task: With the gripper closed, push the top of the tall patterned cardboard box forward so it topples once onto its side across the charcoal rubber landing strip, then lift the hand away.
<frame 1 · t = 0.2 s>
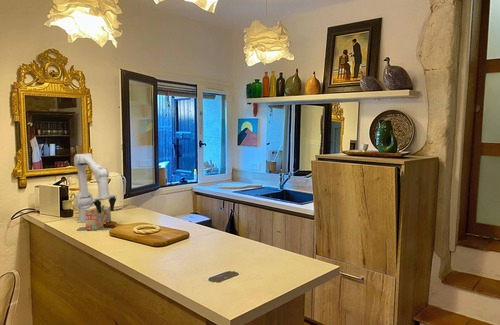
hand: (106, 211, 217), 11 cm above the counter, tool pointing down, fingers open, 7 cm apart
patterned cardboard box: (99, 225, 226), on the counter, touching landing strip
landing strip: (95, 228, 220), on the counter
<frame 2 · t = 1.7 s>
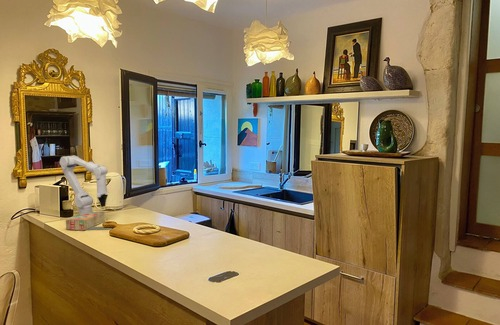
hand: (103, 206, 233), 10 cm above the counter, tool pointing down, fingers closed
patterned cardboard box: (95, 220, 225), point 3 cm above the counter, touching landing strip
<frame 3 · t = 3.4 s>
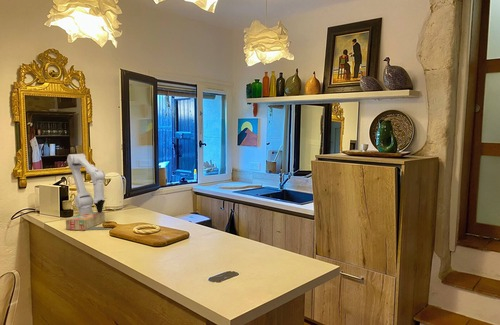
hand: (99, 212, 228), 8 cm above the counter, tool pointing down, fingers closed
nothing on the counter moved.
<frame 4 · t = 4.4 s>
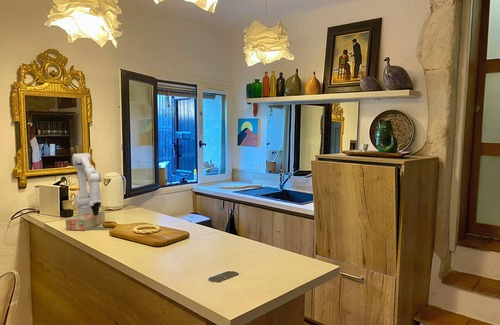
hand: (96, 215, 221), 8 cm above the counter, tool pointing down, fingers closed
nothing on the counter moved.
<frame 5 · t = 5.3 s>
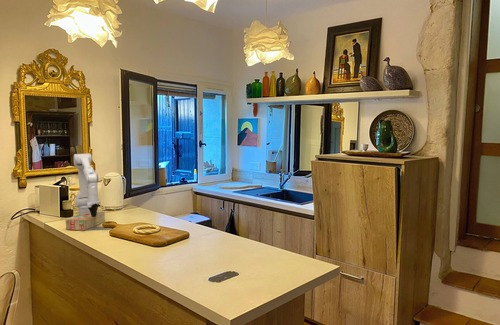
hand: (93, 216, 217), 8 cm above the counter, tool pointing down, fingers closed
nothing on the counter moved.
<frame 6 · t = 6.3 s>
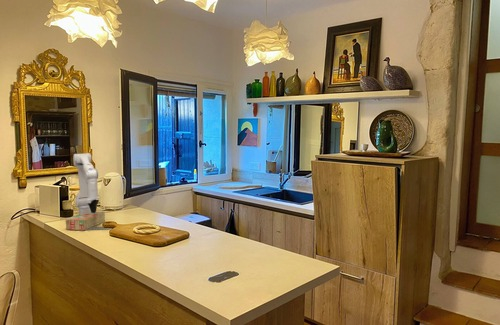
hand: (93, 212, 217), 10 cm above the counter, tool pointing down, fingers closed
nothing on the counter moved.
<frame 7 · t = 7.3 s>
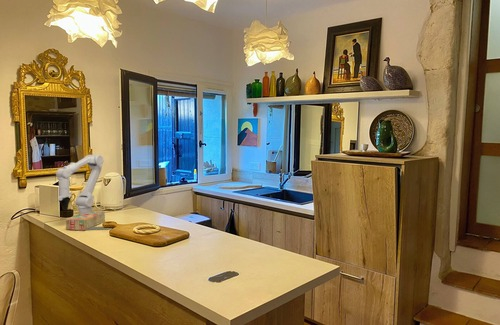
hand: (65, 210, 224), 10 cm above the counter, tool pointing down, fingers closed
nothing on the counter moved.
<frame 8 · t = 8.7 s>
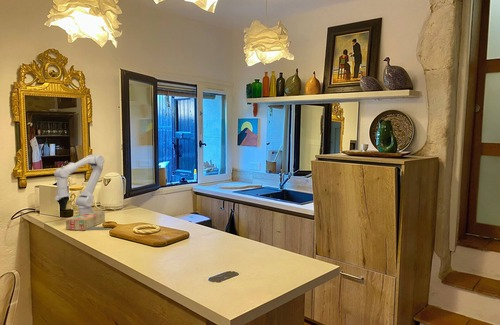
hand: (63, 209, 224), 10 cm above the counter, tool pointing down, fingers closed
nothing on the counter moved.
at the end: patterned cardboard box tilted 90°; patterned cardboard box inside the target area (4.2 cm from its centre), point 3.4 cm above the counter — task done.
